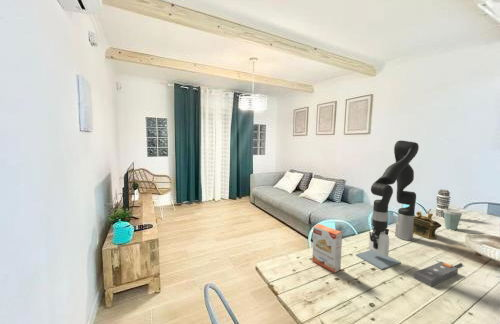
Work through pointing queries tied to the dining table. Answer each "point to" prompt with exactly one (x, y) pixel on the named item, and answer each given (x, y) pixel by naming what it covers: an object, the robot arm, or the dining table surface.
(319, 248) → the cracker box
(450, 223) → the disposable coffee cup
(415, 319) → the dining table surface
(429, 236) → the decorative box
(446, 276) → the power strip
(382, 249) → the photo printer
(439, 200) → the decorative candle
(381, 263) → the rubber mat
